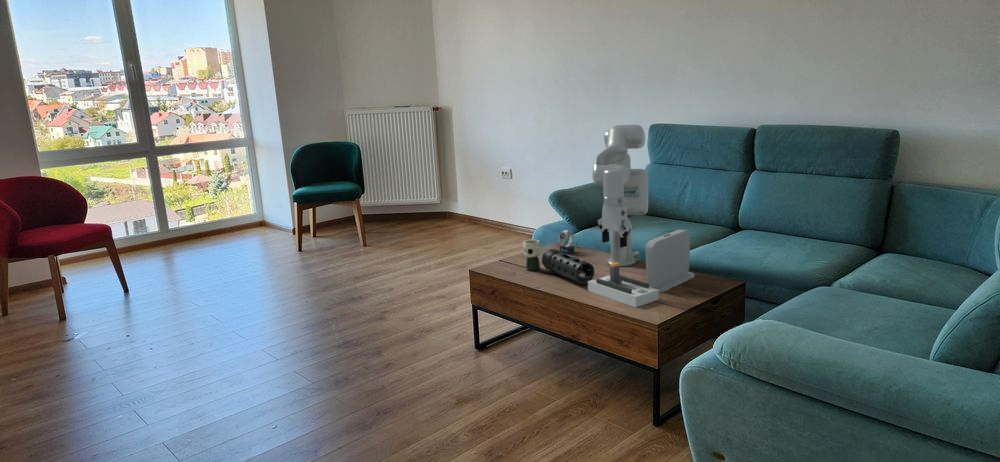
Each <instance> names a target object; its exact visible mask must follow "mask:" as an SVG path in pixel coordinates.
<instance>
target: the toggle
mask: <svg viewBox="0 0 1000 462" xmlns="http://www.w3.org/2000/svg"><path fill="white" fill-rule="evenodd" d="M620 267H621V266H620V263H616V262H615V263H611V264H609V275H610V280H608V282H611V283H614V284H618V283H622V281H621V280H619V275H620Z"/></svg>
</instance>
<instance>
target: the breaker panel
mask: <svg viewBox="0 0 1000 462" xmlns="http://www.w3.org/2000/svg"><path fill="white" fill-rule="evenodd" d="M596 279H602V280H605V281H608V280H610V274H609V275H605V276H602V277H597V278H595V279H592V280H591V281H588V283H587V290H588V292H591V293H593V294H596V295H599V296H602V297H605V298H608V299H611V300H613V301H617V302H619V303H622V304H625V305H628V306H631V307H633V308H638V307H641V306H644V305H647V304H650V303H654V302H655V301H659V293H658V289H654V288H651V287H649V288H644V287H640V286H637V285H634V284H631V283H628V282H624V281H622V283H618V284H617V285H620V286H623V287H627V288H630V289H632V293H631V294H628V293H625V292H622V291H619V290H616V289H613V288H610V287H607V286H604V285H601V284H598V283H596Z"/></svg>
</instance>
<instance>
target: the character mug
mask: <svg viewBox="0 0 1000 462" xmlns="http://www.w3.org/2000/svg"><path fill="white" fill-rule="evenodd" d="M522 246H523V247H522V248H523V249H522V250H523V254H524V256H525V257H526V263H525V264H526V265H525V270H528V271H537V270H539V269H540V268H541V265H540V259H539V256H540V255H542V247H541V241H540V240H538V239H527V240H524V241H523V244H522Z"/></svg>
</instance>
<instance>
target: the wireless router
mask: <svg viewBox="0 0 1000 462" xmlns="http://www.w3.org/2000/svg"><path fill="white" fill-rule="evenodd" d="M690 250H691V233H690V231H689V230H686V229H676V230H675V231H672V232H668V233H665V234H662V235H661V236H658V237H655V238H653V239H650V240H649V241H648V242H647V244H646V245H645V273H646V275H645V276H646V283H648V284H649V287H651V288H654V289H658V294H660V293H665V292H666V291H669V290H671V289H673V288H675V287H676V286H679V285H681V284H683V283H685V282H687V281H689V279H690V280H691V278H692V279H693V278H695V275H696V274H695V273H693V272H691V271H689V270H690V254H691V253H690V252H691V251H690ZM672 287H673V288H672ZM670 288H671V289H670Z"/></svg>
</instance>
